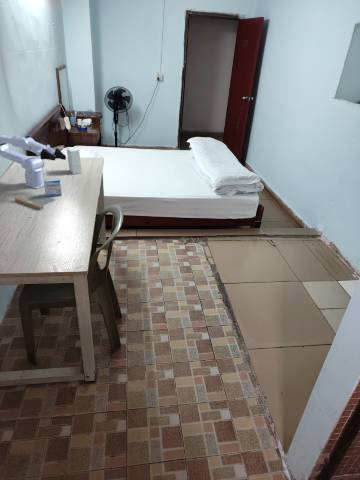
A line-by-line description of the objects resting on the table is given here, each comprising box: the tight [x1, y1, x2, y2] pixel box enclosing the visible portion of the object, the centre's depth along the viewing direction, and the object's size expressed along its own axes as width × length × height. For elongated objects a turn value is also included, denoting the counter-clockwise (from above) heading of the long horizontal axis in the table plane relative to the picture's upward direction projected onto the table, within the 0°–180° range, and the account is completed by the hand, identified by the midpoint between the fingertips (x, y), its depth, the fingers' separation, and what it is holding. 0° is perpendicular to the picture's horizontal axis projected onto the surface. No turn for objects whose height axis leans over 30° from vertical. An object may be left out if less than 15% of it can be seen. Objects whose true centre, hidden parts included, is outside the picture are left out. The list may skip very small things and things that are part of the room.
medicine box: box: [43, 177, 63, 198], centre depth 176 cm, size 8×4×9 cm, turn 117°
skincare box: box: [66, 147, 83, 175], centre depth 208 cm, size 8×6×15 cm
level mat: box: [14, 194, 56, 211], centre depth 170 cm, size 18×13×2 cm
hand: (60, 158), depth 171 cm, fingers open, 7 cm apart
